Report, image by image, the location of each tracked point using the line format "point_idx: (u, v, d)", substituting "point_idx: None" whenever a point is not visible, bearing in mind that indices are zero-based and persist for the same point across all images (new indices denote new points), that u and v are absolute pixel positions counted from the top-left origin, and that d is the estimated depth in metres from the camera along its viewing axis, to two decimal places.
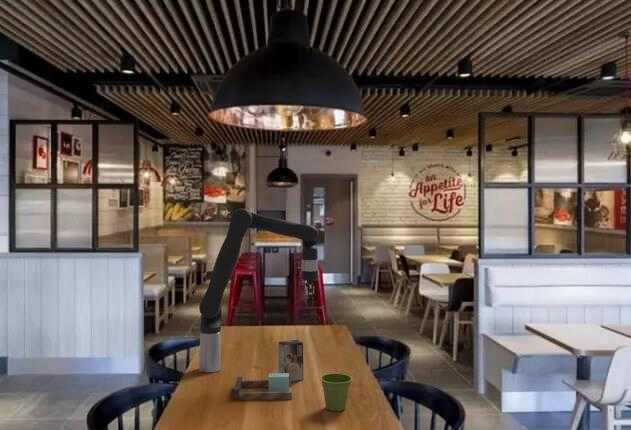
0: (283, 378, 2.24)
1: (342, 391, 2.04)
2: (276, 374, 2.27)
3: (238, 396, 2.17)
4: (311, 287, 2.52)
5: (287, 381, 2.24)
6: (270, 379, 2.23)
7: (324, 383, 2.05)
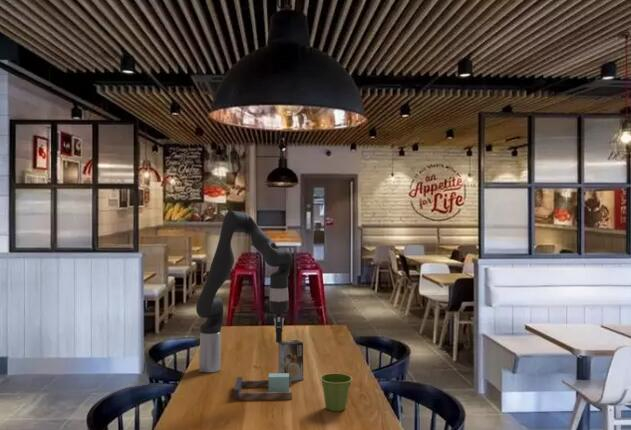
0: (283, 378, 2.24)
1: (342, 391, 2.04)
2: (276, 374, 2.27)
3: (238, 396, 2.17)
4: (280, 320, 2.19)
5: (287, 381, 2.24)
6: (270, 379, 2.23)
7: (324, 383, 2.05)
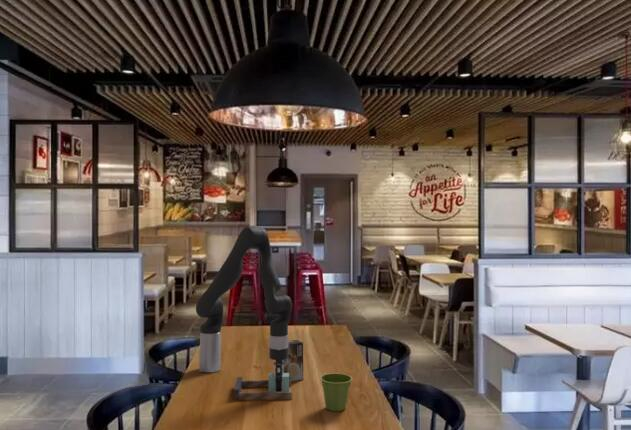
0: (283, 378, 2.24)
1: (342, 391, 2.04)
2: None
3: (238, 396, 2.17)
4: (279, 371, 2.19)
5: (287, 381, 2.24)
6: (270, 379, 2.23)
7: (324, 383, 2.05)
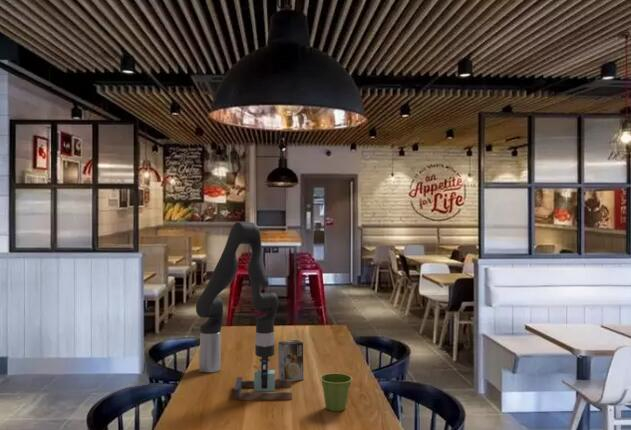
0: (269, 375, 2.24)
1: (342, 391, 2.04)
2: None
3: (238, 396, 2.17)
4: (265, 368, 2.19)
5: (273, 378, 2.24)
6: (256, 376, 2.23)
7: (324, 383, 2.05)
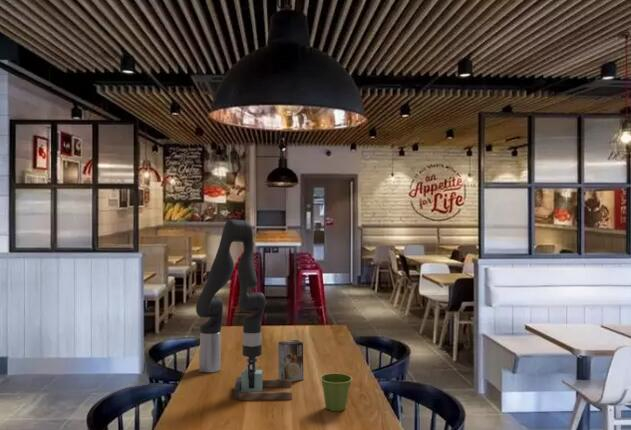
0: (256, 375, 2.23)
1: (342, 391, 2.04)
2: None
3: (238, 396, 2.17)
4: (252, 368, 2.19)
5: (260, 378, 2.23)
6: (243, 376, 2.23)
7: (324, 383, 2.05)
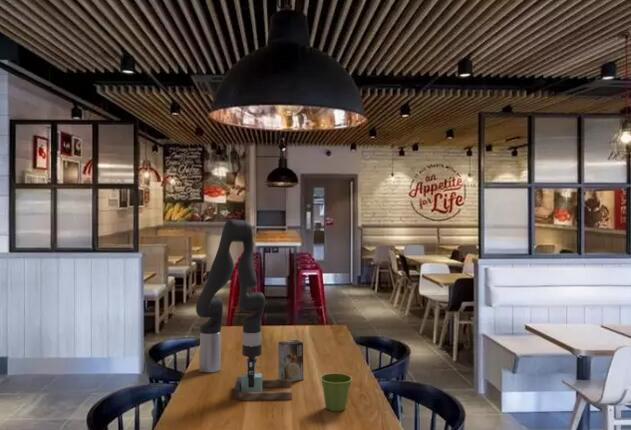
0: (256, 379, 2.23)
1: (342, 391, 2.04)
2: None
3: (238, 396, 2.17)
4: (251, 365, 2.18)
5: (260, 381, 2.23)
6: (242, 379, 2.23)
7: (324, 383, 2.05)
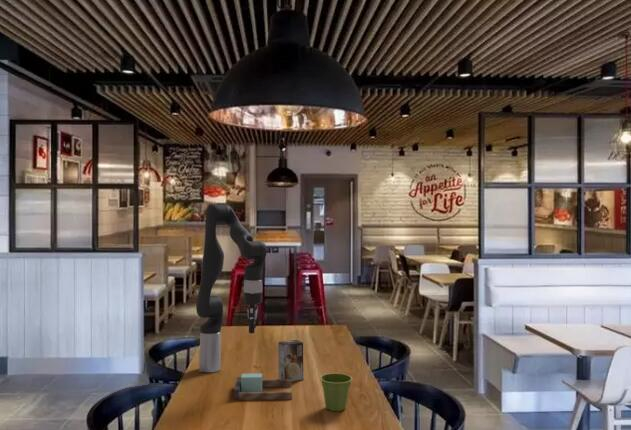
0: (256, 379, 2.23)
1: (342, 391, 2.04)
2: (249, 374, 2.26)
3: (238, 396, 2.17)
4: (252, 311, 2.23)
5: (260, 381, 2.23)
6: (242, 379, 2.23)
7: (324, 383, 2.05)
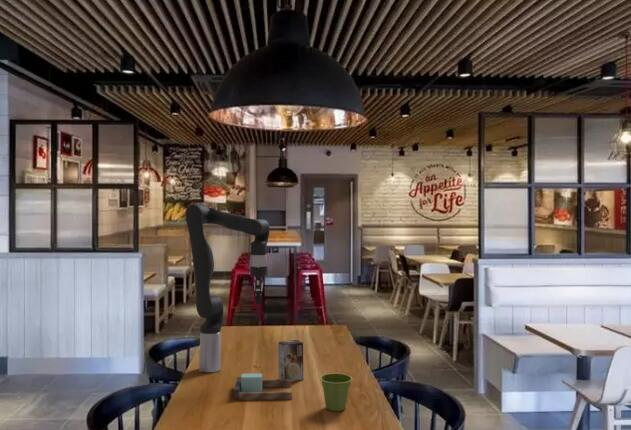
0: (256, 379, 2.23)
1: (342, 391, 2.04)
2: (249, 374, 2.26)
3: (238, 396, 2.17)
4: (259, 283, 2.41)
5: (260, 381, 2.23)
6: (242, 379, 2.23)
7: (324, 383, 2.05)
